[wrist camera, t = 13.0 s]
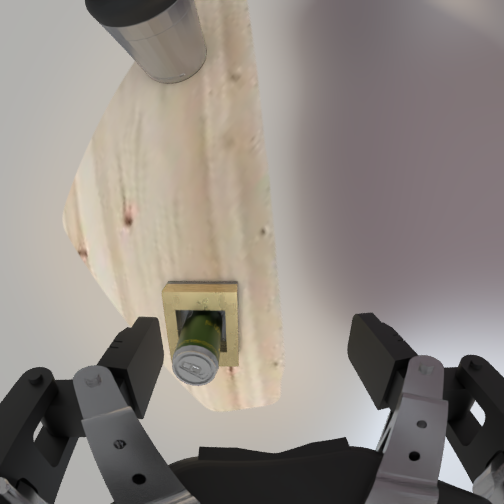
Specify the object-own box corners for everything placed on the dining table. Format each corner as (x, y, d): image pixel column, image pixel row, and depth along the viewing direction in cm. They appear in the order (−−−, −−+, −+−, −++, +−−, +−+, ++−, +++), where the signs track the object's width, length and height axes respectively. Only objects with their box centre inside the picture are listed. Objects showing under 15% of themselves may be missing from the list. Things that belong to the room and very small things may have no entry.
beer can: (181, 326, 40) (164, 375, 29) (194, 297, 39) (179, 342, 28) (214, 340, 41) (207, 393, 30) (229, 312, 40) (226, 361, 29)
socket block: (168, 281, 40) (161, 291, 36) (237, 281, 40) (237, 292, 36) (176, 350, 43) (172, 364, 39) (238, 351, 43) (238, 366, 39)
